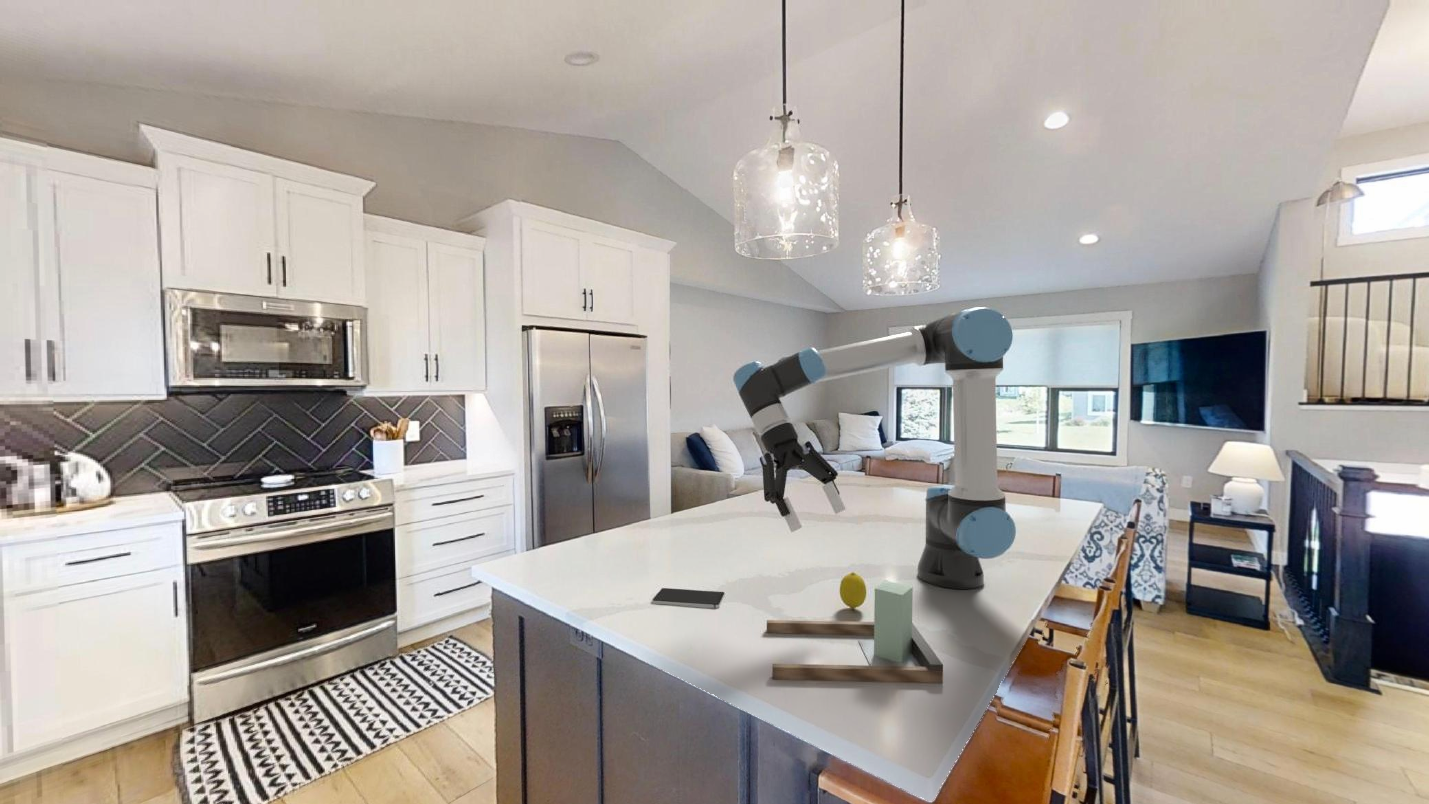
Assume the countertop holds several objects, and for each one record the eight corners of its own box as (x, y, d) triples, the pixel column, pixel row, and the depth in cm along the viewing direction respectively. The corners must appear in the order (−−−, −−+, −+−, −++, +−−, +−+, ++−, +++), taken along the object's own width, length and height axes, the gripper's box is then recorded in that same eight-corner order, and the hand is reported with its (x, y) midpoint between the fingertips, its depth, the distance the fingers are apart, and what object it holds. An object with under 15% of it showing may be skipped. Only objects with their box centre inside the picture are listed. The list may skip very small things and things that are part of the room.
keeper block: (884, 644, 105) (885, 580, 104) (911, 652, 101) (912, 586, 101) (873, 654, 101) (874, 588, 100) (901, 663, 98) (902, 595, 97)
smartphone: (661, 587, 132) (725, 591, 129) (661, 592, 132) (725, 596, 129) (651, 600, 124) (718, 605, 121) (651, 606, 124) (718, 610, 121)
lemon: (851, 616, 117) (851, 578, 117) (834, 607, 122) (834, 570, 122) (871, 611, 120) (872, 574, 120) (853, 602, 125) (854, 566, 125)
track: (908, 632, 110) (908, 617, 110) (942, 682, 92) (943, 664, 92) (766, 630, 111) (766, 615, 111) (772, 679, 93) (772, 661, 93)
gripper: (804, 427, 133) (846, 510, 126) (722, 447, 117) (765, 543, 111) (824, 412, 127) (869, 498, 121) (741, 431, 112) (787, 532, 105)
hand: (819, 520), depth 116 cm, fingers open, 13 cm apart
